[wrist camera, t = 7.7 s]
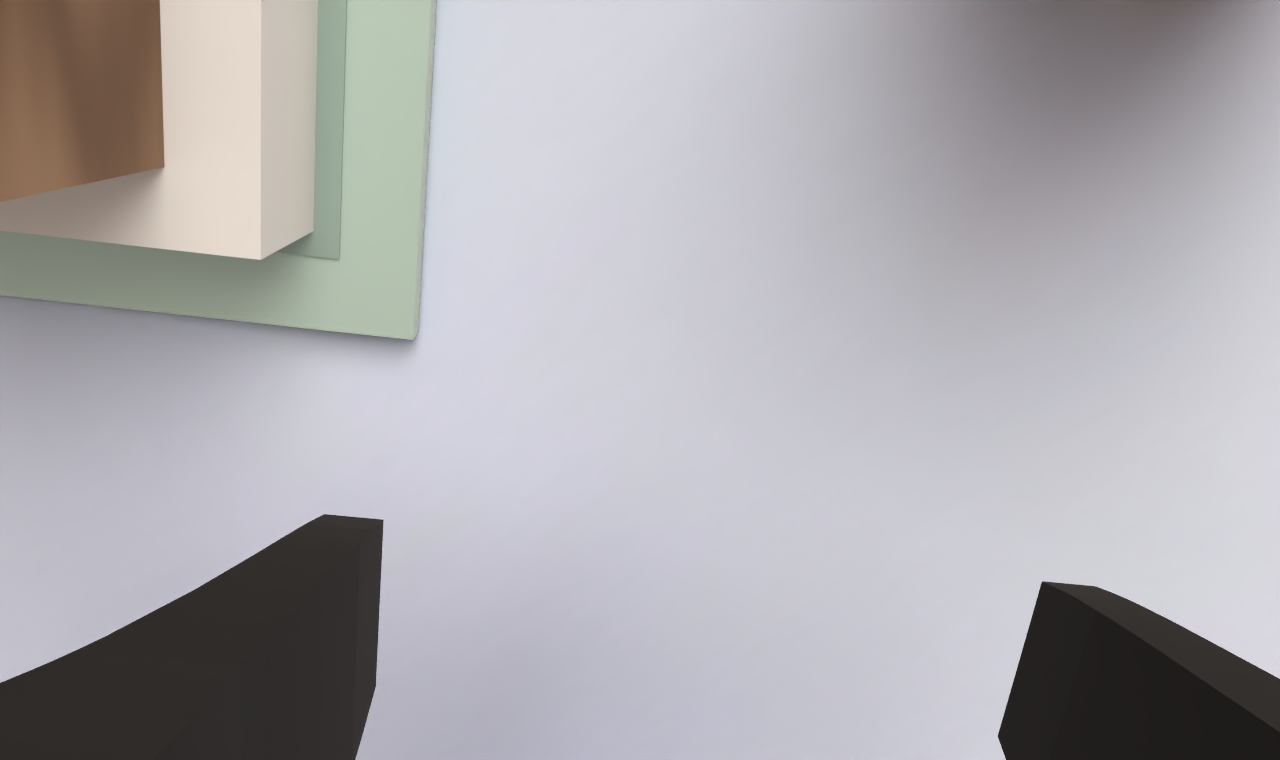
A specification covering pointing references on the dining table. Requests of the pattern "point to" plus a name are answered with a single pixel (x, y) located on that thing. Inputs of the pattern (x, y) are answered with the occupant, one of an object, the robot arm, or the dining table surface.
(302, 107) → the block
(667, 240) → the dining table surface
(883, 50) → the dining table surface
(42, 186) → the walnut cube
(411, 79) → the board
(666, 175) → the dining table surface
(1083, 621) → the robot arm
